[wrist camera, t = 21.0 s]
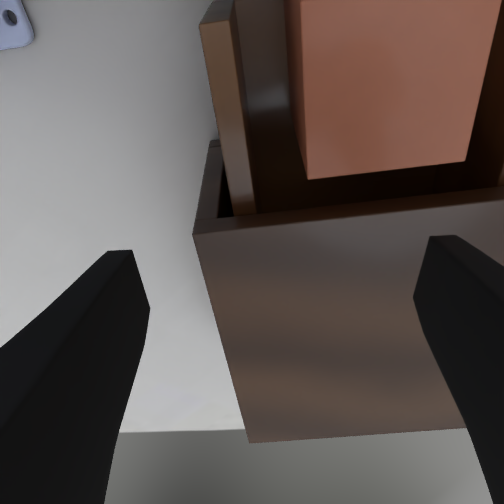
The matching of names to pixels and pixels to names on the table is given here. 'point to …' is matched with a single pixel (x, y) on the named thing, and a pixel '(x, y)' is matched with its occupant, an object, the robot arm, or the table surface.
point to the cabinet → (332, 308)
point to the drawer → (283, 133)
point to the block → (385, 81)
